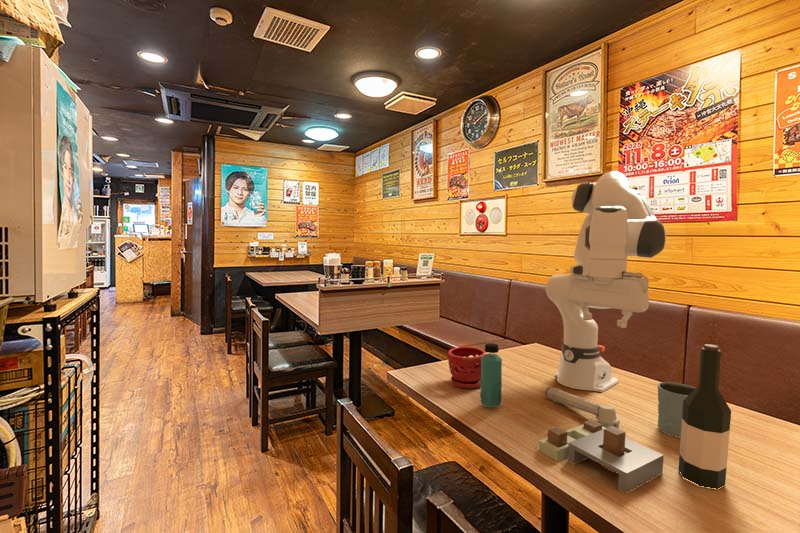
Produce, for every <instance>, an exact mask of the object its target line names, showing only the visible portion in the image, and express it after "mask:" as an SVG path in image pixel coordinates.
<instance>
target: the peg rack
mask: <svg viewBox="0 0 800 533" xmlns="http://www.w3.org/2000/svg"><path fill="white" fill-rule="evenodd" d="M583 427H584V423H583V424H581V425H578V426H575V427H573V428H569V429H568V430H566V431H567V432H568V433H567V444H566V445H564V446H561V447H559V448H558V447H557V446H555V445H553V444H551V443H549V442H548V441H547V439H548V436H547V437H545V438H542V439H540V440H538V451H539V452H541V453H543V455H546V456H547V457H549V458H551V459H553V460H554V461H556V462H558V461H560V460H562V459H564V458H568V448H569V442H572V441H574V440H577V439H579V438H582V437H585V436H587V435H590V434H592V433H593V432H591V431H589V430H587V429H584V428H583ZM603 429H605V427H603V426H602V430H603Z"/></svg>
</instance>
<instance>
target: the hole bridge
mask: <svg viewBox="0 0 800 533" xmlns="http://www.w3.org/2000/svg"><path fill="white" fill-rule="evenodd" d="M603 436H604V429H603V430H600V431H598V432H595V433H592V434H590V435H587V436H585V437H582V438H579V439H577V440H574V441H572V442H569V448H568V456H567V461H568V462H570V463H571V464H572V465H575V464H577V463H580V462H583V461H584V460H587V459H591V460H593V461H594V462H595V463H598V464H599V465H601V466H602V465H604V466H605V467H607V468H609V469H611V470H613V471H615V472H617V473H616V474H618V486H617V487H618V489H619V490H618V489H617V490H618V491H620V490H621V491H622V493H623V492H624V494H625V493H627V492H629V493H630V492H632V491H634V490H636V489H638V488H639V487H638V486H640V485H642V484H643V485H645V484H647V483H648V482H647V481H649V480H651V479H652V478H654V477H656V476H658V475H659V474H662V475H663V469H664V454H663V453H661V452H660V453H659V452H658V451H655V450H653V449H651V448H648V447H647V446H644V445H642V444H640V443H639V442H635V441H633V440H631V439H629V438H627V437H625V452H624V455H623V456H621V457H618V456H616V455H614V454H612V453H610V452H608V451H606V450H604V449H603ZM625 453H626V454H625ZM658 477H659V476H658ZM656 478H657V477H656ZM651 481H652V480H651ZM646 482H647V483H646ZM649 482H650V481H649ZM644 483H645V484H644ZM643 485H642V486H643ZM637 487H638V488H637ZM640 487H641V486H640ZM635 488H636V489H635ZM633 489H634V490H633ZM631 490H632V491H631ZM621 491H620V492H621ZM627 494H628V493H627Z"/></svg>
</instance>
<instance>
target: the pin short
mask: <svg viewBox="0 0 800 533" xmlns="http://www.w3.org/2000/svg"><path fill="white" fill-rule="evenodd" d="M583 424H584V427H583V428H584V429H587V430H589V431H591V432H593V433H595V432H598V431H600V430H602V424H600V423H598V421H597V420H593V419H589V420H586V421H584V422H583Z"/></svg>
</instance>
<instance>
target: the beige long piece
mask: <svg viewBox="0 0 800 533" xmlns="http://www.w3.org/2000/svg"><path fill="white" fill-rule="evenodd" d="M544 393H545V397H546V398H547V399H548V400H551V401H552V402H554V403H556V404H557V403H559V404H561V405H565V406H567V407H570V408H574V409H577V410H580V411H583V412H586V413H587V414H588V413H589V414H592V415H595V421H596V422H598V423H600V424H602V426H603V427H605V428H608V427H610V426H614V427H616V428H618V429H620V425H619V424H621V419H620V418H619V417H618V416H617V413H616V409H615V407H613V406H611V405H608V404H607V405H606V404H605V405H604V404H603V405H601V404H599V403H596V402H594V401H590V400H588V399H586V398H584V397H580V396H578V395H575V394H572V393H570V392H567V391H564V390H562V389H561V388H556V387H552V386H550V387H547V388H546V390H545V392H544Z"/></svg>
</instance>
